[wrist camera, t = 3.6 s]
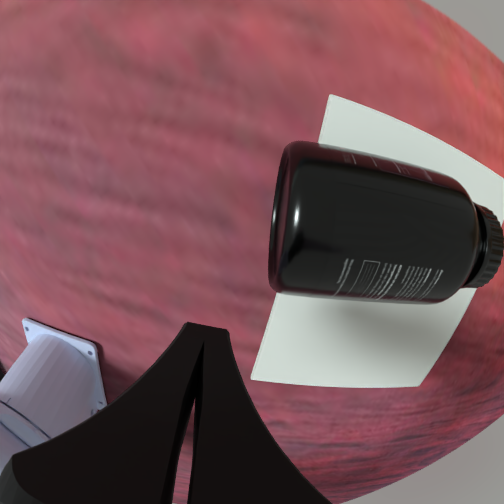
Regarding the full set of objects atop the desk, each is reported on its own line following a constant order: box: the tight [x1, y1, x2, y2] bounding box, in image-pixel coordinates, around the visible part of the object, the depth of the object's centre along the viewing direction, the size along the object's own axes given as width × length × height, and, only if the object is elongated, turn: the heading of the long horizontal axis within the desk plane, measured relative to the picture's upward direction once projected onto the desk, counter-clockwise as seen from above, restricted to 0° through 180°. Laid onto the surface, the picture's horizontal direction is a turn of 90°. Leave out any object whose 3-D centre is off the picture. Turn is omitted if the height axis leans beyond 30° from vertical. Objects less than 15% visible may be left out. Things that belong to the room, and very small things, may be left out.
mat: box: [251, 94, 504, 388], centre depth 18 cm, size 20×16×1 cm
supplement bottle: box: [268, 141, 504, 305], centre depth 13 cm, size 7×7×12 cm
